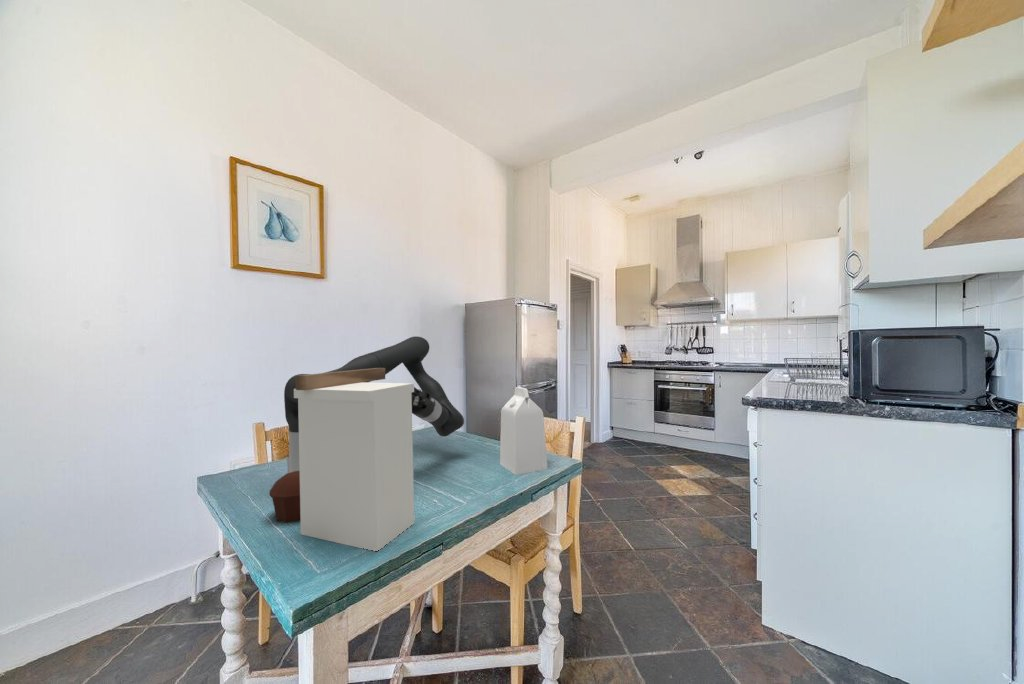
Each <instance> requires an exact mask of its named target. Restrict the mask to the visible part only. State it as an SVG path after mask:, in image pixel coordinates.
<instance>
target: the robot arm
mask: <svg viewBox="0 0 1024 684" xmlns="http://www.w3.org/2000/svg"><path fill="white" fill-rule="evenodd" d="M429 352H430V343H429V341H428V340H427V339H425V338H424V337H422V336H416V335H415V336H411V337H409V338H406V339H404V340H402V341H401V342H398V343H395V344H394V345H389V346H387V347H384V348H381V349H378V350H375V351H373V352H368V353H365V354H362V355H359V356H357V357H354V358H352V359H351V360H349V361H348V362H346V363H345V365H343V366H341V367H339V368H336V369H334V370H330V371H326V372H324V373H329V372H339V371H350V370H360V369H370V368H385V376H386V375H388V374H389V373H391V372H392V371H393V370H394V369H396V368H397V367H399V366H400V365H401V364H403V366H404V367H405V368H406V370H407V371H408V373H409V374H410V376H411V377H412V378H413V380H414V381H415V382H416V384H417V386H418V387H419V388H420V389H419V388H416V387H415V386H414V392H412V393H411V394H412V415H414V416H416V417H418V418H419V419H421V420H423V421H425V422H427V423H429V424H430V425H432V426H433V427H434V429H435V431H436V433H437V434H438V435H439V436H440V437H448V436H449V435H451V434H453V433H454V432H457V431H458V430H459V429H460V428H462V427H464V425H465V418H464V416H463V414H462V413H461V412H460V411H459V410H458V409H457V408H456V407H455V406H454V405H453V404H452V402H451V401H450V400H449V398H448V396H447V395H446V392H445V390H444V388H443V387H442V385H441V384H440V383H439V381H438V380H436V379H435V378H434V377H432V376H430V375H429V374H428V373H427V371H426V370H425V368H424V366H423V363H422V362H423V360H424V359H425V357H427V355H428V354H429ZM308 374H309V373H298V374H295V375H293V376H291V377H290V378H289V379H288V380H287V382H286V384H285V386H284V389H283V390H284V391H283V392H284V393H283V395H284V396H283V398H284V414H285V420H286V423H287V425H288V446H289V447H288V449H289V452H288V454H289V455H288V456H287V460H286V461H287V462H286V463H287V464H286V465H287V468H286V469H287V474H288V473H290V472H294V471H300V468H299V418H298V398H294V389H296V380H295V376H298V375H308ZM367 383H372V381H368V382H367Z"/></svg>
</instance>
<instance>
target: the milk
mask: <svg viewBox="0 0 1024 684" xmlns="http://www.w3.org/2000/svg"><path fill="white" fill-rule="evenodd" d="M544 417H545V416H544V411H543V409H542V408H541V407H540V406H538V405H537V403H535V401H533V400H532V399H531V397H530V395H529V391H528V388H526V387H520V386H518V387H517V386H516V387H515V389H514V393H513V396H512V397H511V398H510V399H509V400H508V401H507V402H506V403H505V404H504V406H502V408H501V410H500V442H499V443H500V444H499V445H500V448H499V449H500V450H499V451H500V452H499V465H500V466H502V467H503V468H504V469H506V470H508V471H509V472H510V473H512V474H513V475H515V476H518V475H523V474H528V473H534V472H537V471H538V472H539V471H544V470H548V468H549V467H548V457H547V456H548V454H547V445H546V444H547V443H546V431H545V419H544Z"/></svg>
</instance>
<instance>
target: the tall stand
mask: <svg viewBox="0 0 1024 684" xmlns="http://www.w3.org/2000/svg"><path fill="white" fill-rule="evenodd" d="M414 387H415V383H413V382H409V383H408V382H368V383H367V382H361V383H354V384H347V385H340V386H333V387H326V388H319V389H312V390H296V389H294V398H298V418H299V468H300V519H301V520H300V535H303V536H305V537H309V538H314V539H320V540H323V541H328V542H331V543H337V544H341V545H345V546H349V547H353V548H354V547H355V548H358V549H363V548H364V549H363V550H366V549H368V550H367V551H371V550H373V551H372V552H375V551H378V550H379V551H380V549H381V548H382V549H383V548H384V546H385V545H386V544H387V545H388V544H390V543H391V542H393V539H394V538H395V539H397V538H398V537H399V536H400V535H401V534H403V533H404V532H405V531H407V530H408V529H409V528H411V527H412V526H414V524H415V496H414V494H415V493H414V491H415V490H414V487H415V486H414V452H413V451H414V447H413V444H414V443H413V413H412V394H411V393H412V392H414ZM411 525H412V526H411ZM410 526H411V527H410ZM407 528H408V529H407ZM406 529H407V530H406ZM403 531H404V532H403ZM402 532H403V533H402ZM399 534H400V535H399ZM398 535H399V536H398ZM397 536H398V537H397ZM395 539H394V540H395ZM390 541H391V542H390ZM389 542H390V543H389ZM387 545H386V546H387ZM386 546H385V547H386ZM382 549H381V550H382ZM379 551H378V552H379Z"/></svg>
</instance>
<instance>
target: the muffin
mask: <svg viewBox="0 0 1024 684" xmlns="http://www.w3.org/2000/svg"><path fill="white" fill-rule="evenodd" d="M269 496H270V498H272V503H273V508H274V514H275V517H276V521H277V522H281V523H292V522H296V521H301V519H300V471H294V472H290V473H288V472H287V473H285V474H284V475H282V476H281V477H280V478H278V479H277V480H276V481H275V482H274V484H273V485H272V486H271V488H270V490H269Z"/></svg>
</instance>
